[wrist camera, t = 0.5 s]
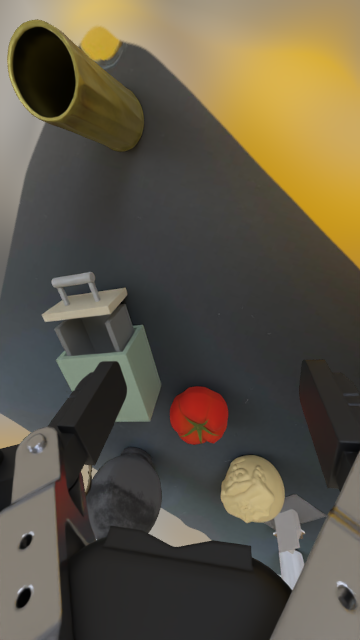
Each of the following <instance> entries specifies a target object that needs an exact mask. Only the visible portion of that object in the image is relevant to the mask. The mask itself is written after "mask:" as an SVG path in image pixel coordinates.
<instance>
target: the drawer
mask: <svg viewBox="0 0 360 640" xmlns="http://www.w3.org/2000/svg"><path fill="white" fill-rule="evenodd" d="M94 281H95V275H94V274H93V273H92V272H88V273H82V274H76V275H70V276H64V277H58V278H53V279H52V285H53V287H55V288H57V289H58V291H59V293H60V296H61V298H62V301H60V302H59V303H58V304H56V305H55V306H53V307H52V308H51V309H49V310H48V311H46V312H45V313H44V314H42V316H43V318H44V320H45V322H49V321H58V320H64V321H63V322H62V323H61V324H59V325H58V326H57V327H56V328H55V331H56V333H57V335H58V337H59V339H60V341H61V344H62V346H63V348H64V350H65V352H66V354H67V356H76V355H89V354H101V353H113V352H123V350H124V349H125V347H126V346H127V344H128V342H129V341H130V339H131V337H132V336H133V334H134V332H135V331H134V328H133V325H132V322H131V319H130V316H129V313H128V310H127V307H126V304H120V303H121V302H122V301H123V299H124V298H125V297H126V296H127V295H128V294H127V291H126V288H120V289H113V290H106V291H100V292H98V291H97V289H96V286H95V283H94ZM85 283H88V284H89V287H90V289H91V292H92V293H86V294H79V295H72V296H67V295H66V293H65V290H64V288H63V287H66V286H72V285H79V284H85Z"/></svg>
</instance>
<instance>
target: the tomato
mask: <svg viewBox="0 0 360 640" xmlns="http://www.w3.org/2000/svg"><path fill="white" fill-rule="evenodd" d="M227 420H228V408H227V404H226V402H225V400H224V399H223V397H222V396H221V395H220V394H219V393H216V392H214V391H212V390H210V389H208V388H206V387H199V386H195V387H189V388H188V389H186V390H185V391H184V392H183V393H181V394H179V395H177V396H176V397H175V398H174V401H173V403H172V405H171V408H170V422H171V425H172V427H173V428H174V430H175V431H177V432H178V434H179V437H180V438H181V439H182V440H184V441H185V442H186V443H188V444H193V445H195V444H200V443H201V444H202V443H204V442H206V441H208V442H210V443H215V442H217V441H218V440H219V439H220V438H221V437H222V435H223V433H224V431H225V430H226V428H227Z"/></svg>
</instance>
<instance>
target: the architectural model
mask: <svg viewBox="0 0 360 640" xmlns="http://www.w3.org/2000/svg"><path fill="white" fill-rule="evenodd" d="M325 516H326V515H324V514H323V513H322V512H320V511H319V510H317V509H316V508H314V507H313V506H312V505H310V504H309V503H307V502H306V501H304V500H303V499H301V498H300V497H299V496H297V495H296V494H294V495H291V496H289V497H286V498H284V504H283V507H282V509H281V511H280V513H279V514H278V515H277V516H276V517H275V518H273V519H272V520H270V521H267V522H264V523H265V524H267V525H268V526H270V527H272V528H273V529H275V530H276V532H274V533H273V535H275V536H276V537H277V540H278V546H279V552H280V553H281V552H285V551H288V552H290V553H291V554H293V553H294V550H295V549H297V548H300V545H299V541H298V540H299V539H301V538H300V535H301V536H302V534H305V532H304V531H303V530H301V527H300V524H302V523H305V522H309V521H312V520H315V519H318V518H322V517H325ZM302 539H303V537H302Z"/></svg>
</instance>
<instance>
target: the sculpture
mask: <svg viewBox="0 0 360 640" xmlns="http://www.w3.org/2000/svg"><path fill="white" fill-rule="evenodd" d="M221 489H222V491H221V500H222V502H223V504H224V507H225V509H226V510H227V512H228V513H229V514H231V515H234V516H236V517H238V518H241V519H242V520H244V521H245V522H246V523H249V522H267V521H270V520H272V519H273V518H275V517H276V516H277V515H278V514H279V513H280V511H281V509H282V507H283V504H284V498H285V491H284V485H283V482H282V479H281V477H280V475H279V473H278V471H277V470H276V468H275V467H274V466H273V465H272V464H271V463H270V462H269V461H267V460H266V459H264V458H262V457H259V456H256V455H245V456H241V457H238V458H236V459H235V460H233V461H232V462H231V465H230V467H229V469H228V472H227V474H226V477H225V480H224V481H223V482H222V485H221Z"/></svg>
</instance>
